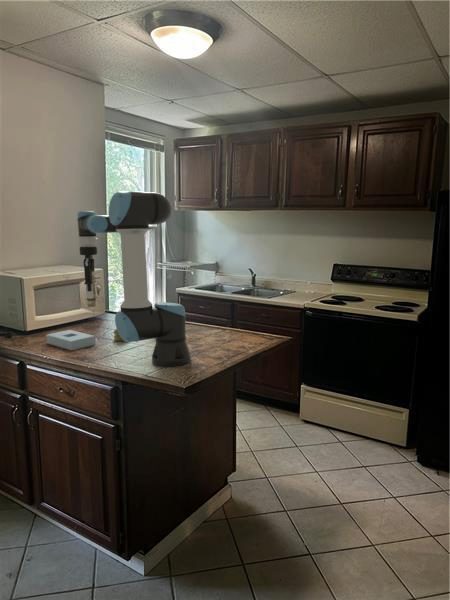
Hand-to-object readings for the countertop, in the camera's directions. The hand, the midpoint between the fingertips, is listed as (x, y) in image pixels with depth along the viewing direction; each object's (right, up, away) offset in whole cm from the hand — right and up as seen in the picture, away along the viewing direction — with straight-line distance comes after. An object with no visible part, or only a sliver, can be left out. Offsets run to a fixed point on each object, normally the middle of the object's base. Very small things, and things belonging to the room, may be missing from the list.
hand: (91, 297), depth 203 cm
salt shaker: (+13, -20, +5) cm, 25 cm away
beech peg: (0, -4, +1) cm, 4 cm away
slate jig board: (-9, -21, -1) cm, 23 cm away
